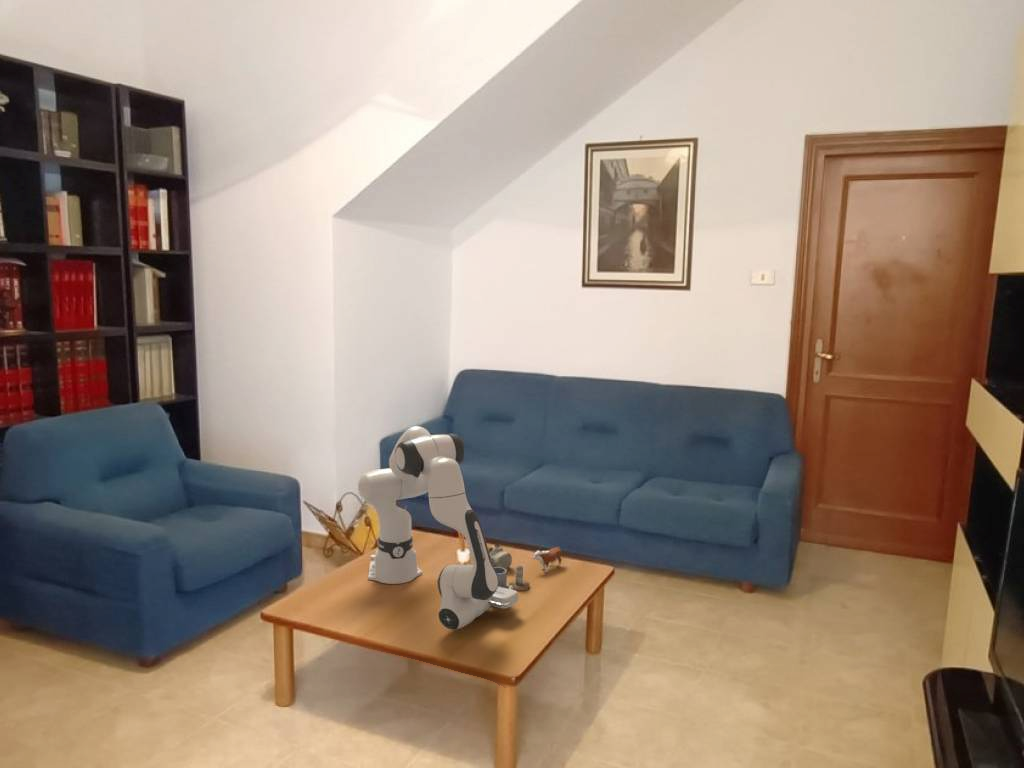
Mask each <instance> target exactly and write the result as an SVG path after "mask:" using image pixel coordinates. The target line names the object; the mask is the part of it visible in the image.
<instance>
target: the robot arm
mask: <svg viewBox="0 0 1024 768" xmlns="http://www.w3.org/2000/svg"><path fill="white" fill-rule="evenodd" d="M465 454H466V447H465V445H464V441H463V439H462V438H461V437H460V436H459V435H458V434H456V433H455V434H454V433H442V434H432V435H431V433H430V432H429V431H428V430H427V429H426V428H425V427H422V426H418V425H416V426H411V427H409V428H408V429H406V430H405V431H404V432H403V433H402V434H401V436H400V437H399V439H398V440H397V441H396V444H395V446H394V447H393V450H392V452H391V455H390V457H389V458H388V459H389V460H388V466H389V467H388V468H381V469H380V468H379V469H373V470H370V471H367V472H365V473H363V474H362V475H361V476H360V477H359V480H358V483H357V490H358V493H359V496H360V497H361V498H362V500H364V501H365V502H367V503H368V504H370V505H371V506H372V508H373V509H374V511H375V512H376V515H377V518H378V519H377V520H378V534H379V535H378V538H377V548H376V551H375V554H371V555H370V562H369V568H368V569H369V571H368V576H367V578H368V580H369V581H376V582H379V583H382V584H390V585H398V584H404V583H409V582H411V581H413V580H414V579H415V578H417V577H418V576H421V575H422V574H423V570H422V569H421V568H419V567H418V554H417V551H416V550H415V549H414V548H413V545H414V540H413V535H412V516H411V514H410V513H409V511H407V510H406V509H403V508H401V507H399V506H397V504H396V502H397V500H403V499H410V498H416V497H419V496H422V495H424V494H427V493H428V495H427V496H428V502H429V504H428V505H429V510H430V512H431V515H432V517H434V519H435V520H436V521H437V522H438V523H439V524H442V525H444V526H446V527H448V528H451V529H454V530H455V531H457V532H459V533H460V534H461V535H462V536H463V537H464V539H465V540H466V544H467V547H468V550H469V555H470V557H471V561H472V564H447V565H445V566H444V568H443V569H441V571H440V573H439V576H438V578H437V591H438V593H439V596H440V598H441V604H440V607H439V609H438V612H437V613H438V619H439V621H440V624H442V625H443V626H444V627H445V628H446V629H448V630H454V631H456V630H459V629H462V628H463V627H466V626H468V625H469V624H471V623H472V622H473V621H474V620H475V619H476V618H478V617H480V616H481V615H483V613H485V612H486V611H487V610H489V609H490V608H491V607H495V608H499V609H508V608H510V607H512V606H514V605H516V604H517V603H518V601H519V593H518V591H515V590H513V586H512V585H509V584H507V585H506V588H503V587H499V586H498V576H497V573H496V571H495V568H494V566H493V564H492V561H491V558H490V554H489V551H488V545H487V541H486V536H485V532H484V529H483V526H482V524H481V520H480V517H479V516H478V514H477V512H476V511H474V510H473V509H472V507H471V506H470V504H469V501H468V499H467V496H466V489H465V483H464V482H465V481H464V478H463V474H462V471H461V468H460V464H462V463H463V461H464V458H465V456H466V455H465Z"/></svg>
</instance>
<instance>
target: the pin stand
mask: <svg viewBox="0 0 1024 768" xmlns="http://www.w3.org/2000/svg"><path fill="white" fill-rule="evenodd" d="M508 585H512V586H513V590H515V591H517V592H524V591H527V590H529V589H530V583H529V581H527V580H524V567H523V565H521V564H518V565H517V566H516V567H515V579H514V580H511V581H509V582H508Z"/></svg>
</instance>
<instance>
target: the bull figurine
mask: <svg viewBox="0 0 1024 768" xmlns="http://www.w3.org/2000/svg"><path fill="white" fill-rule="evenodd" d="M561 557H562V549H561V548H560V546H557V547H554V548H551V549H548V550H542V551H540V550H536V551H535V553H534V555H533V556H532V559H533V560H536V561H539V563H540V564H541V566H542V568H541V571H543V573H544V574H547V573H548V568H549V567H550V568H551V567H553V564H554V563H555V562H556V561H558V566H557V567H558V568H561V565H562V564H561V563H562V558H561Z"/></svg>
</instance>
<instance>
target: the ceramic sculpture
mask: <svg viewBox="0 0 1024 768" xmlns="http://www.w3.org/2000/svg"><path fill="white" fill-rule="evenodd" d="M487 547H488V546H487ZM488 551H489V554H490V558H491V561H492V564H493V566H494V567H502V568H505V569H507V570H508V569H510V567H511V565H512V562H513V557H512V554H511V552H506V551H505V550H504V549H503V546H501V545H499V544H494V545H491V546H489V547H488Z"/></svg>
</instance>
